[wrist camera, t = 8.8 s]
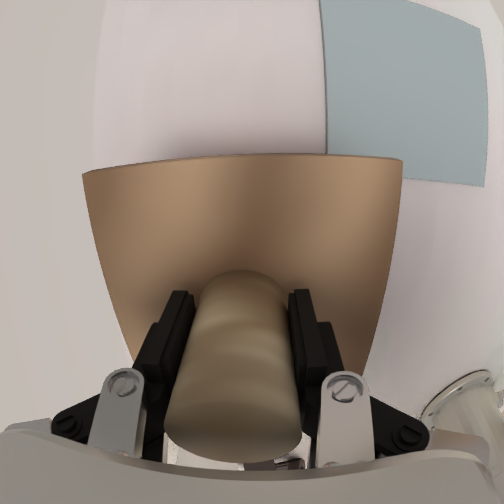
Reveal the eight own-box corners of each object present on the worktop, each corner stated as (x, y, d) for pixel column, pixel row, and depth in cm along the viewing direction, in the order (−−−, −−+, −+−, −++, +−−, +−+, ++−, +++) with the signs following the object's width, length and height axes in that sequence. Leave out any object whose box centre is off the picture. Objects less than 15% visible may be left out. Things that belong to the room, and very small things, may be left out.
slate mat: (476, 29, 12) (479, 28, 12) (480, 185, 18) (483, 187, 17) (317, -14, 13) (318, -17, 12) (326, 173, 19) (327, 174, 18)
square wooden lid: (394, 157, 10) (524, 214, 4) (354, 378, 15) (381, 481, 9) (92, 170, 10) (-36, 231, 4) (149, 379, 15) (116, 476, 9)
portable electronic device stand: (255, 470, 38) (253, 512, 30) (229, 454, 35) (224, 501, 28) (304, 460, 36) (307, 505, 28) (283, 443, 33) (284, 495, 25)
